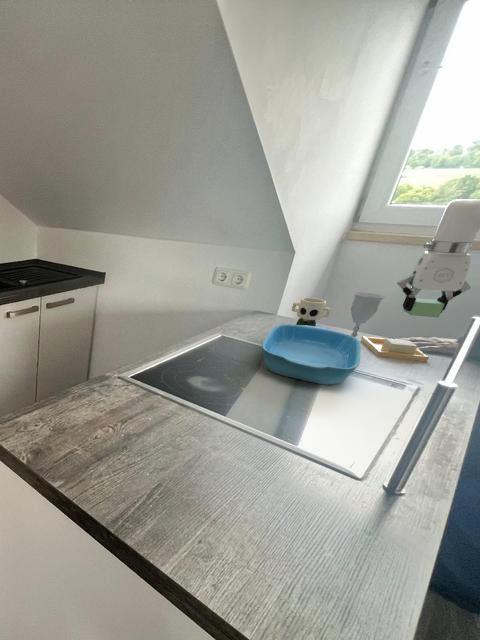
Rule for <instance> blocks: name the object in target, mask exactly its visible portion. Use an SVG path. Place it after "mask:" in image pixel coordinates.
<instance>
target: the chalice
mask: <svg viewBox="0 0 480 640" xmlns="http://www.w3.org/2000/svg"><path fill="white" fill-rule="evenodd" d="M353 294H354V295H353V296H354V299H353V302H352V304H351V307H350V315H351V319H352V323H353V322H354V323H355V326H354V327H353V328H352V330H353V331H352V333H350V336H353V337H355V338H357V336H358V332H359V331H360V326H361V325H364V324H366V322H368V321H369V320H370V319H371V318H372V317H374V315H375V314H376V313H377V311H378V310H379V307H380V304H381V301H382V300H383V299H384V298H385V295H383V294H379V293H374V292H364V291H363V292H361V291H360V292H354V293H353Z"/></svg>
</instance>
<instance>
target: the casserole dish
mask: <svg viewBox="0 0 480 640" xmlns="http://www.w3.org/2000/svg"><path fill="white" fill-rule="evenodd" d="M361 349H362V348H361V342H360V340H359V339H358V338H357V337H353V336H351V334H347V333H343V332H340V331H336V330H333V329H329V328H325V327H320V326H316V327H315V326H307V325H296V324H288V323H285V324H278V325H275V326H274V327H272V329H271V330H270V332H269V333H268V335H266V337H265V339H263V342H262V344H261V350H262V358H263V363H264V366H265V367H266V368H267V369H268V370H269V371H270V372H272V373H274V374H277V375H280V376H284V377H288V378H292V379H295V380H300V381H304V382H308V383H313V384H319V385H326V386H327V385H328V386H331V385H335V384H336V385H337V384H339V383H341V382H343V381H344V380H346V379H347V378H348V377H349V376H350V375H351V374H352V373H353V372H354V371H355V369H357V368H358V367H359V365H360V364H361V363H360V362H361V352H362V351H361Z"/></svg>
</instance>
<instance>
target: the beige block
mask: <svg viewBox="0 0 480 640" xmlns="http://www.w3.org/2000/svg"><path fill="white" fill-rule="evenodd" d="M384 339H385V340H384V343H383V345H382V348H381V350H382V351H385V352H394V353H403V354H412V355H414V353H415V351H416V349H418V345H416V344H415V343H414V342H412V341H411V340H408V339H407V340H405V339H396V338H389V337H387V338H386V337H385V338H384Z"/></svg>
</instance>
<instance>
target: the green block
mask: <svg viewBox="0 0 480 640" xmlns="http://www.w3.org/2000/svg"><path fill="white" fill-rule="evenodd" d="M415 298H416V297H415ZM444 305H445V304H443V303H441V302H439V301H437V299H433V298H431V299H430V298H418V297H417V298H416V301H415V303H414V305H413V307H412V310H411V311H407V310H405V309H403V312H404V313H406V314H408V315H410V316H413V317H414V316H415V317H425V318H440V315H441V314H442V313H441V311H442V309H443V307H444ZM442 312H443V311H442Z"/></svg>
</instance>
